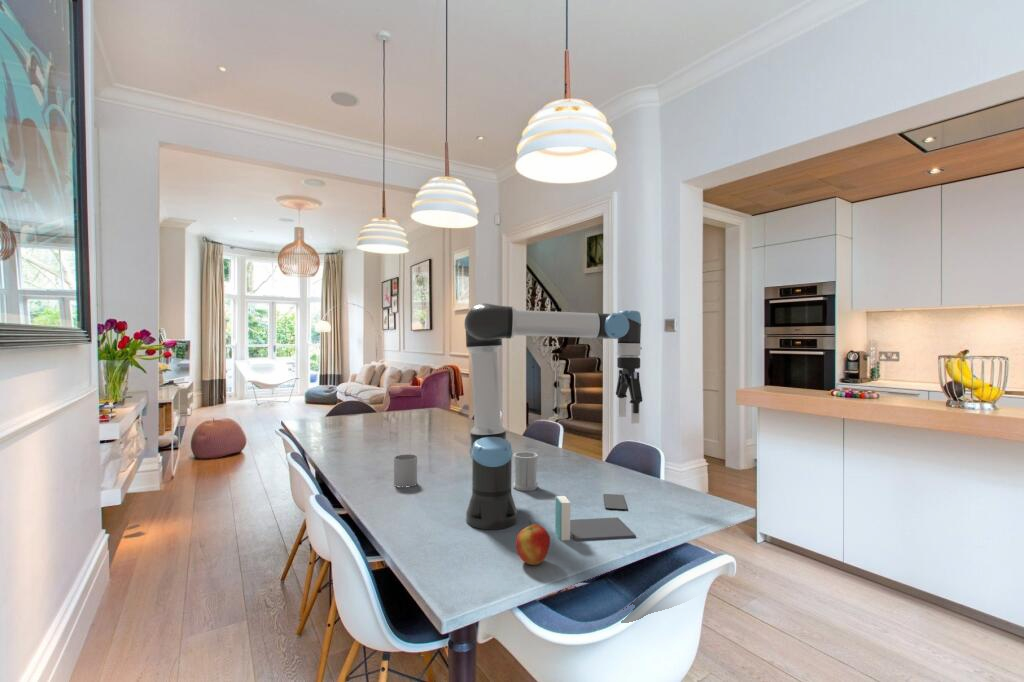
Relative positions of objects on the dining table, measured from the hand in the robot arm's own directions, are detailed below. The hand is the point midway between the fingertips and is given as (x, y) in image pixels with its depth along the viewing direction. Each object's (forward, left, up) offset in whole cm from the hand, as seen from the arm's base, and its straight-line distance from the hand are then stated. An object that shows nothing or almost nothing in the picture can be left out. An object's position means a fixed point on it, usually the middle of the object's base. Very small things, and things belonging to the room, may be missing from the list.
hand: (627, 419), depth 158 cm
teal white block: (-29, -26, -27) cm, 47 cm away
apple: (-40, -40, -27) cm, 63 cm away
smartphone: (-5, -2, -28) cm, 28 cm away
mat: (-18, -23, -27) cm, 40 cm away
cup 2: (-32, +18, -27) cm, 46 cm away
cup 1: (-75, +27, -27) cm, 84 cm away
